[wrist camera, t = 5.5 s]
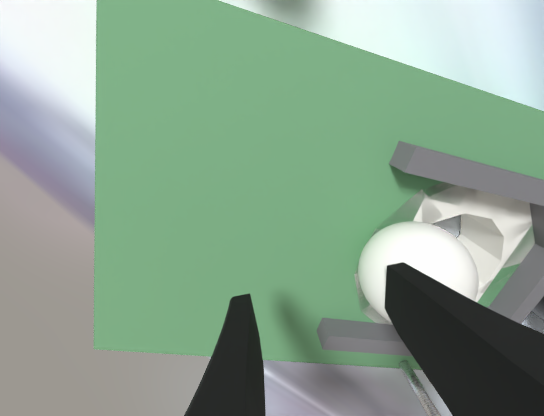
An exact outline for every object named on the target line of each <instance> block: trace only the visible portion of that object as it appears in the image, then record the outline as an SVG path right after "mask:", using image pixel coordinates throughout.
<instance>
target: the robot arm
mask: <svg viewBox="0 0 544 416" xmlns="http://www.w3.org/2000/svg"><path fill="white" fill-rule="evenodd" d="M385 310H386V312H387V314H388V316H389V318H390V320H391V322H392V324H393V326H394V327H395V329H396V331H397V333H398V335H399V336H400V338H401V339H402V341H403V342H404V344H405V345H406V347H407V348H408V350H409V351H410V353H411V354H412V356H413V357H414V359H415V360H416V362H417V363H418V365H419V366H420V367H421V369H422V370H423V372H424V373H425V375H426V376H427V378H428V379H429V381H430V382H431V383H432V385H433V386H434V388H435V389H436V391H437V392H438V394H439V395H440V397H441V398H442V399H443V401H444V403H445V404H446V406H447V407H448V409H449V410H450V412H451V413H452V415H453V416H544V334H542V333H540V332H538V331H535V330H533V329H531V328H528V327H526V326H524V325H522V324H520V323H518V322H515V321H513V320H511V319H509V318H507V317H505V316H503V315H501V314H499V313H497V312H495V311H493V310H491V309H489V308H487V307H485V306H483V305H481V304H479V303H477V302H475V301H473V300H471V299H469V298H467V297H466V296H464V295H462V294H460V293H458V292H456V291H455V290H453V289H451V288H449V287H447V286H445V285H444V284H442V283H440V282H438V281H437V280H435V279H433V278H431V277H429V276H428V275H426V274H424V273H422V272H421V271H419V270H417V269H415V268H413V267H412V266H410V265H408V264H406V263H404V262H402V263H397V264H392V265H387V271H386V291H385ZM184 416H265V391H264V367H263V358H262V351H261V343H260V336H259V331H258V327H257V322H256V318H255V313H254V309H253V304H252V300H251V295H250V293H249V294H244V295H239V296H234V297H232V298H231V299H230V302H229V307H228V310H227V314H226V317H225V321H224V324H223V327H222V330H221V333H220V335H219V338H218V341H217V344H216V346H215V349H214V352H213V354H212V357H211V359H210V361H209V364H208V366H207V368H206V371H205V373H204V375H203V378H202V380H201V382H200V384H199V387H198V389H197V391H196V393H195V395H194V397H193V399H192V401H191V403H190V405H189V407H188V409H187V411H186V413H185V415H184Z"/></svg>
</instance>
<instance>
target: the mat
mask: <svg viewBox="0 0 544 416" xmlns="http://www.w3.org/2000/svg"><path fill="white" fill-rule="evenodd" d="M458 215H461V228H460V235H459V236H458V238H457V239H458V240H459V241H461V242H462V243H463V244H464V246H465V247H466V248H467V249H468V251H469V253H470V254H471V256H472V258H473V260H474V262H475V264H476V267H477V271H478V278H479V288H478V294H477V297H476V300H475V302H477V303H479V304H481V305H483V306H485V307H487V308H489V309H491V310H493V311H495V312H497V313H499V314H501V315H503V316H505V317H507V318H509V319H511V320H513V321H515V322H518V323H520V324H521V323H522V322H523V321H524V320H525V318H526V317H527V316H528V315H529V314H530V312H531V311H532V310H533V309H534V307H535V306H536V305H537V304H538V302H539V301H540V300H541V299H542V298H543V296H544V111H541V110H538V109H535V108H532V107H529V106H526V105H523V104H520V103H517V102H514V101H512V100H509V99H506V98H503V97H500V96H497V95H494V94H491V93H488V92H485V91H482V90H479V89H476V88H473V87H470V86H468V85H465V84H462V83H459V82H456V81H453V80H450V79H447V78H444V77H441V76H438V75H435V74H432V73H429V72H426V71H424V70H421V69H418V68H415V67H412V66H409V65H406V64H403V63H400V62H397V61H394V60H391V59H388V58H385V57H382V56H380V55H377V54H374V53H371V52H368V51H365V50H362V49H359V48H356V47H353V46H350V45H347V44H344V43H341V42H338V41H336V40H333V39H330V38H327V37H324V36H321V35H318V34H315V33H312V32H309V31H306V30H303V29H300V28H297V27H294V26H292V25H289V24H286V23H283V22H280V21H277V20H274V19H271V18H268V17H265V16H262V15H259V14H256V13H253V12H250V11H248V10H245V9H242V8H239V7H236V6H233V5H230V4H227V3H224V2H221V1H218V0H97V20H96V139H95V258H94V259H95V260H94V262H95V263H94V265H95V266H94V349H99V350H116V351H131V352H147V353H164V354H180V355H195V356H196V355H197V356H211V357H212V354H213V352H214V349H215V346H216V344H217V341H218V338H219V335H220V333H221V330H222V327H223V324H224V321H225V317H226V314H227V310H228V307H229V302H230V299H231V298H232V297H234V296H239V295H244V294H249V293H250V295H251V300H252V304H253V309H254V313H255V318H256V322H257V327H258V331H259V336H260V343H261V351H262V358H263V360H275V361H291V362H307V363H323V364H339V365H355V366H371V367H386V368H400V366H399V362H400V361H402V360H407V361H408V363H409V365H410V366H411V368H412V369H418V370H422V369H421V367H420V366H419V365H418V363H417V362H416V360H415V359H414V357H413V356H412V354H411V353H410V351H409V350H408V348H407V347H406V345H405V344H404V342H403V341H402V339H401V338H400V336H399V335H398V333H397V331H396V329H395V327H394V326H393V324H392V323H391V322H389V321H388V320H386V319H385V318H384V317H382V316H381V315H380V314H379V313H378V312H377V311H376V310H375V309H373V307H372V306H371V305H370V303H369V302H368V301H367V299H366V297H365V295H364V293H363V291H362V289H361V286H360V282H359V276H358V264H359V259H360V255H361V252H362V250H363V248H364V246H365V245H366V243H367V242H368V241H369V239H370V238H371V237H372V236H373V235H374V234H376V233H377V232H378V231H380V230H381V229H383V228H385V227H387V226H390V225H392V224H396V223H400V222H408V221H416V222H424V223H429V224H433V223H435V222H438V221H442V220H445V219H448V218H451V217H455V216H458Z"/></svg>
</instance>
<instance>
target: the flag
mask: <svg viewBox="0 0 544 416" xmlns="http://www.w3.org/2000/svg"><path fill="white" fill-rule="evenodd" d="M399 366H400V368H401V370H402V372H403V373H404V375H405V377H406V379H407V380H408V382H409V384H410V385H411V387H412V389H413V391H414V392H415V394H416V396H417V398H418V399H419V401H420V403H421V405H422V406H423V408H424V410H425V411H426V413H427V415H428V416H441V415H440V413H439V412H438V410H437V408H436V407H435V405H434V404H433V402H432V400H431V399H430V397H429V395H428V394H427V392H426V391H425V389H424V387H423V386H422V384H421V382H420V381H419V379H418V378H417V376H416V374H415V373H414V371H413V369H412V368H411V366H410V365H409V363H408V361H407V360H402V361H400V362H399Z"/></svg>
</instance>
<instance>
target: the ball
mask: <svg viewBox="0 0 544 416" xmlns="http://www.w3.org/2000/svg"><path fill="white" fill-rule="evenodd" d="M402 262H404V263H406V264H408V265H410V266H412V267H413V268H415V269H417V270H419V271H421V272H422V273H424V274H426V275H428V276H429V277H431V278H433V279H435V280H437V281H438V282H440V283H442V284H444V285H445V286H447V287H449V288H451V289H453V290H455V291H456V292H458V293H460V294H462V295H464V296H466V297H467V298H469V299H471V300H473V301H475V300H476V297H477V294H478V288H479V278H478V271H477V267H476V264H475V262H474V260H473V258H472V256H471V254H470V253H469V251H468V249H467V248H466V247H465V246H464V244H463V243H462V242H461V241H459V240H458V239H457V238H456V237H455V236H454V235H452V234H451V233H449V232H448V231H446V230H444V229H442V228H440V227H438V226H435V225H432V224H429V223H424V222H416V221H408V222H400V223H396V224H392V225H390V226H387V227H385V228H383V229H381V230H380V231H378V232H377V233H376V234H374V235H373V236H372V237H371V238H370V239H369V241H368V242H367V243H366V245H365V246H364V248H363V250H362V252H361V255H360V259H359V264H358V276H359V282H360V286H361V289H362V291H363V293H364V295H365V297H366V299H367V301H368V302H369V303H370V305H371V306H372V307H373V309H375V310H376V311H377V312H378V313H379V314H380V315H381V316H382V317H384V318H385V319H386V320H388V321H389V322H391V320H390V318H389V316H388V314H387V312H386V310H385V291H386V271H387V265H392V264H397V263H402ZM391 323H392V322H391Z"/></svg>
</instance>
